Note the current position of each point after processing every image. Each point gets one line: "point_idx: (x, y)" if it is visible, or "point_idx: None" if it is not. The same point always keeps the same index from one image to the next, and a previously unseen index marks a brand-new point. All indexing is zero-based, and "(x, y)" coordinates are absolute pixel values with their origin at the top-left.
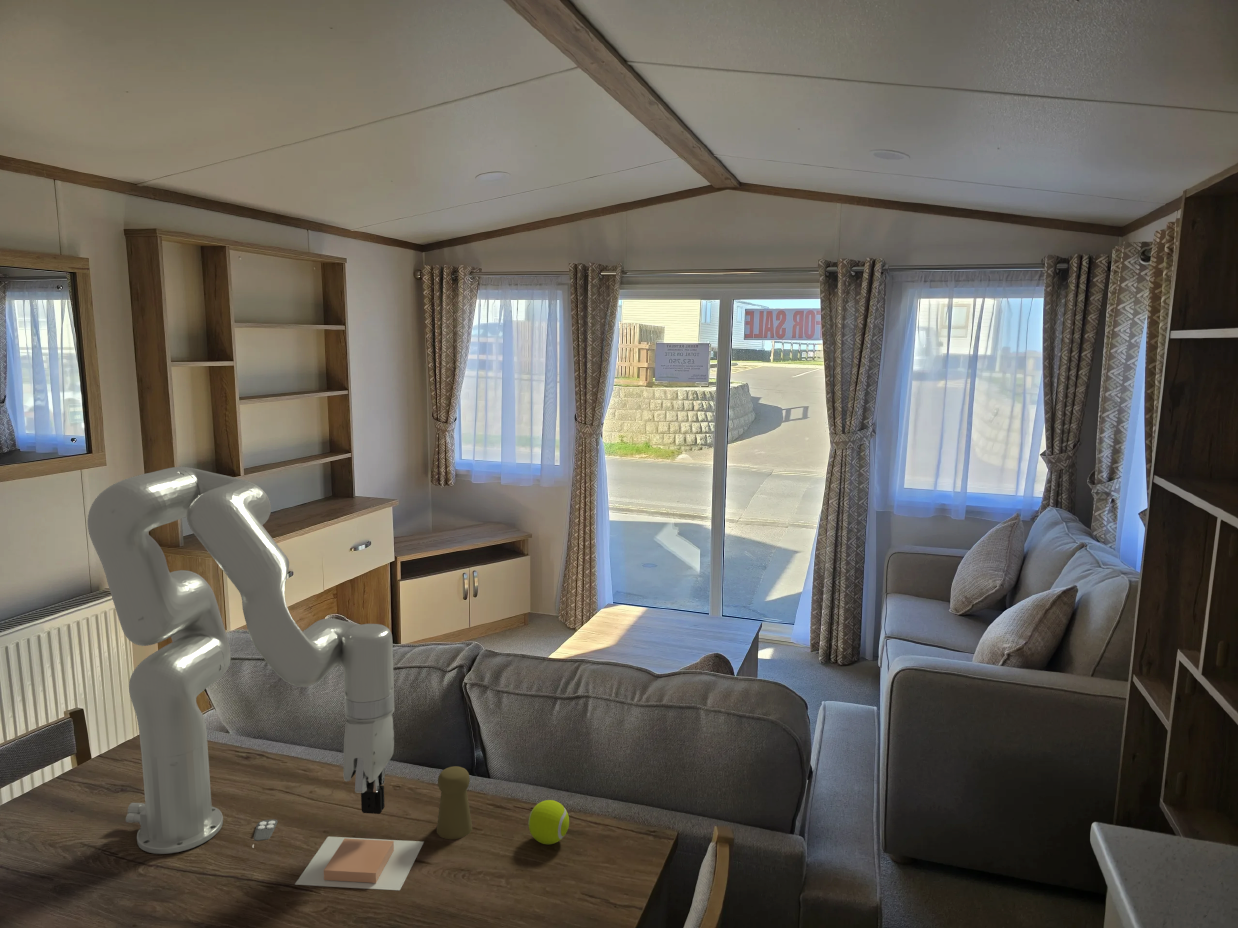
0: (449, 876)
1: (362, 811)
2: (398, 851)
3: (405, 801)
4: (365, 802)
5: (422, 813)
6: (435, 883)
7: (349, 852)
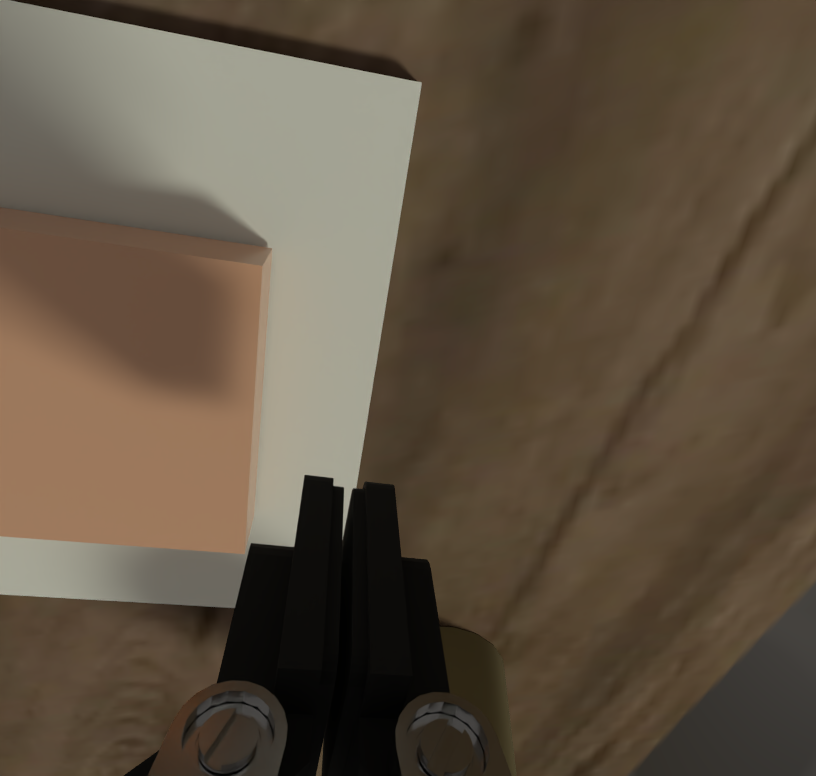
0: (118, 707)
1: (306, 478)
2: (252, 531)
3: (738, 464)
4: (238, 603)
5: (600, 553)
6: (62, 675)
7: (97, 338)
